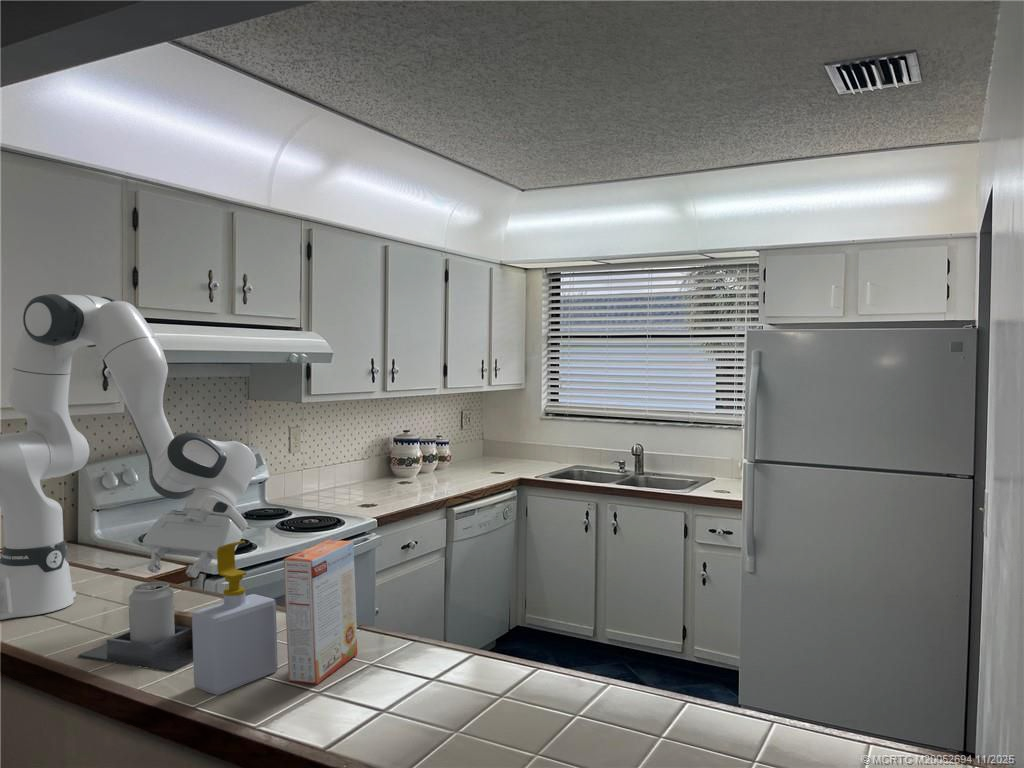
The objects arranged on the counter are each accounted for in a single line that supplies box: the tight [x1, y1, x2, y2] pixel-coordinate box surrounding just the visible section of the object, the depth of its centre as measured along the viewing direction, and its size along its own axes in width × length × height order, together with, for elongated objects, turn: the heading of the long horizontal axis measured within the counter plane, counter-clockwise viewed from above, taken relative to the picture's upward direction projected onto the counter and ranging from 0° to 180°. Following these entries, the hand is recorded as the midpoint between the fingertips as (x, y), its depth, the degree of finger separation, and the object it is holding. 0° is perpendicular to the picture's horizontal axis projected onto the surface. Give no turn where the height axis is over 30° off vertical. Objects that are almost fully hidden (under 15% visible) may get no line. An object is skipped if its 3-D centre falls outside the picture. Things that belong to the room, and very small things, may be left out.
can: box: [128, 581, 175, 644], centre depth 145 cm, size 8×8×12 cm
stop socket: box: [78, 624, 193, 673], centre depth 145 cm, size 22×12×3 cm, turn 69°
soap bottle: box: [192, 540, 278, 696], centre depth 132 cm, size 12×7×23 cm, turn 145°
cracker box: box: [283, 539, 358, 685], centre depth 136 cm, size 14×6×21 cm, turn 162°
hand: (170, 573), depth 150 cm, fingers open, 8 cm apart
